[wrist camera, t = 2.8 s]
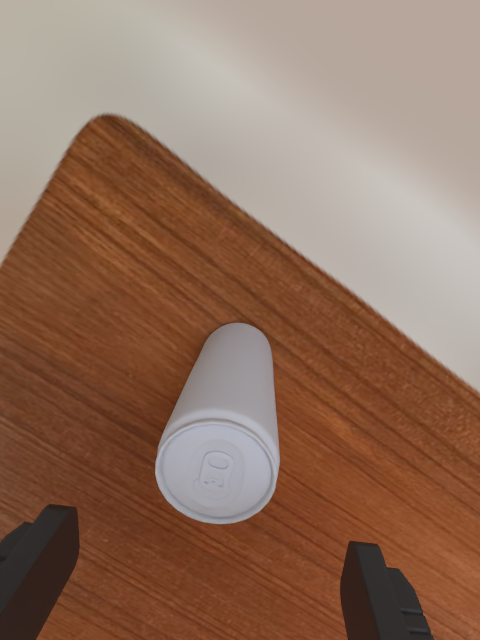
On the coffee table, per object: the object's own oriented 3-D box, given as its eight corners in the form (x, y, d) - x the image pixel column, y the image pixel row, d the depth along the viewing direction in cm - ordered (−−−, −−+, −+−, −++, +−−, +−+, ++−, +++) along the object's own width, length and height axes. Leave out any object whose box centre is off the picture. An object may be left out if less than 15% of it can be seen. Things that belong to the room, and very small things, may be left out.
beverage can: (197, 375, 25) (142, 511, 14) (210, 312, 24) (162, 404, 12) (263, 391, 25) (263, 539, 14) (280, 328, 24) (296, 436, 12)
